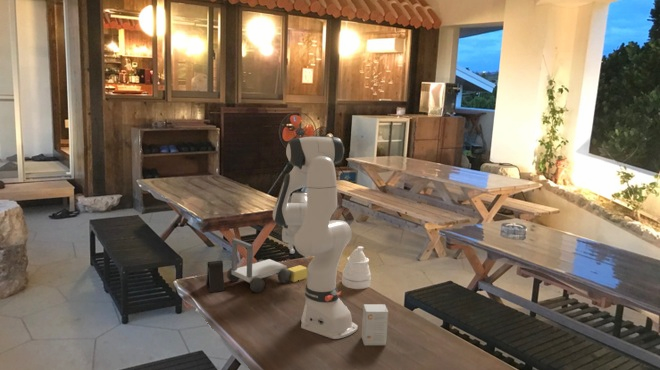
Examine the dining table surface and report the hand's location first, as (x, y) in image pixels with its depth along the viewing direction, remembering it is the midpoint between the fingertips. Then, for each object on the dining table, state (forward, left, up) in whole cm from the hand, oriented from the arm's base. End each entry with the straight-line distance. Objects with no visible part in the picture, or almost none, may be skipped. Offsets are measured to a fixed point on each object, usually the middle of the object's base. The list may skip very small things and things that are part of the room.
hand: (299, 255), depth 246 cm
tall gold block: (+1, 0, -11) cm, 11 cm away
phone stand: (+16, +35, -11) cm, 40 cm away
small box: (-60, +21, -11) cm, 65 cm away
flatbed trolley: (+9, +16, -11) cm, 21 cm away
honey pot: (-21, -16, -11) cm, 29 cm away
